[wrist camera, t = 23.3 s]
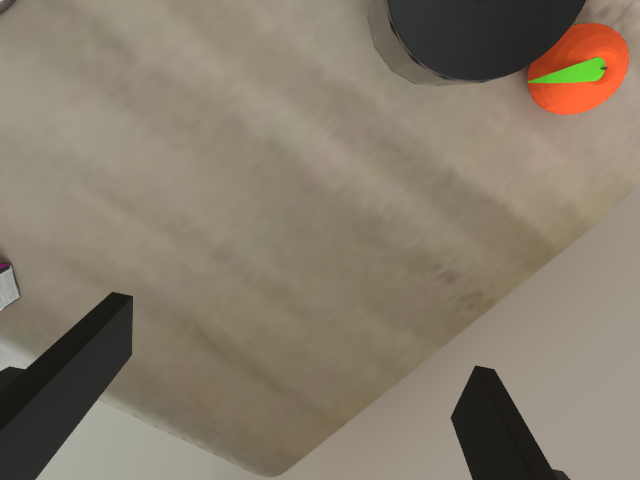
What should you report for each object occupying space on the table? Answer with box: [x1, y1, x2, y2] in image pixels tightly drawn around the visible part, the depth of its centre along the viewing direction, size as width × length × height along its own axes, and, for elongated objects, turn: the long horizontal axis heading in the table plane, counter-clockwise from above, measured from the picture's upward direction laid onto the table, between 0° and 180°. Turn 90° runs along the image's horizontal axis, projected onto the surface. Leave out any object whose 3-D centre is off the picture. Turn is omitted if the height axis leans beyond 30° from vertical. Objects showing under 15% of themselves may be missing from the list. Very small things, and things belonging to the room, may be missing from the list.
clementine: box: [524, 23, 629, 115], centre depth 31 cm, size 8×7×7 cm
